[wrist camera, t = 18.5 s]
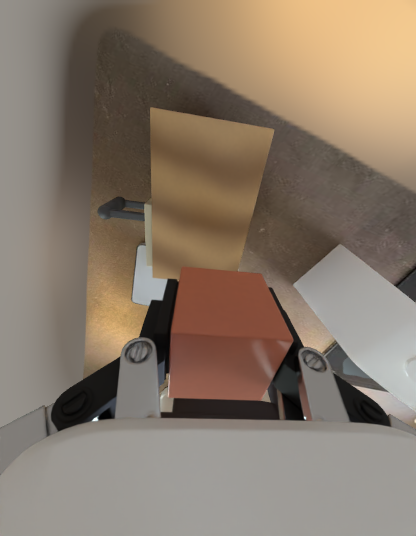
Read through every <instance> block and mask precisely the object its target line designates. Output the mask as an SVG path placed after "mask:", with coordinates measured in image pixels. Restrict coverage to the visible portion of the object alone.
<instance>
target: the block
mask: <svg viewBox="0 0 416 536" xmlns="http://www.w3.org/2000/svg"><path fill="white" fill-rule="evenodd" d="M292 343H293V337H292V335H291V333H290V331H289V329H288V327H287V325H286V323H285V321H284V319H283V317H282V315H281V313H280V311H279V309H278V307H277V305H276V303H275V301H274V299H273V297H272V295H271V293H270V290H269V288H268V286H267V284H266V282H265V280H264V278H263V276H262V274H258V273H248V272H237V271H227V270H216V269H206V268H195V267H185V266H182V267H181V273H180V279H179V285H178V291H177V297H176V303H175V309H174V315H173V321H172V327H171V335H170V357H169V379H168V397H169V398H193V399H226V400H259V401H260V400H262V398H263V396H264V394H265V392H266V390H267V389H268V387H269V385H270V383H271V381H272V379H273V378H274V376H275V374H276V372H277V370H278V368H279V367H280V365H281V363H282V361H283V359H284V357H285V356H286V354H287V352H288V350H289V348H290V346H291V345H292Z"/></svg>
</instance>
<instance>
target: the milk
mask: <svg viewBox="0 0 416 536" xmlns="http://www.w3.org/2000/svg"><path fill="white" fill-rule="evenodd" d="M293 286H294V287H295V288H296V289H297V291H298V292H299V293H300V295H301V296H302V297H303V298H304V300H305V301H306V302H307V304H308V305H309V306H310V307H311V309H312V310H313V311H314V313H315V314H316V315H317V316H318V318H319V319H320V320H321V322H322V323H323V324H324V325H325V327H326V328H327V329H328V331H329V332H330V333H331V334H332V336H333V337H334V338H335V340H336V341H337V342H338V343H339V345H340V346H341V347H342V349H343V350H344V351H345V352H346V354H347V355H348V356H349V358H350V359H351V360H352V361H353V362H354V363H355V364H356V365H357V366H358V367H359V368H360V369H361V370H362V371H364V372H365V373H366V374H367V375H368V376H370V377H371V378H372V379H373V380H375V381H376V382H377V383H379V384H380V385H381V386H382V387H384V388H385V389H386V390H387V391H389V392H390V393H391V394H392V395H394V396H395V397H396V398H398V399H399V400H400V401H401V402H403V403H404V404H405V405H406V406H408V407H411V409H412V410H413V411H415V412H416V303H415V302H414V301H413V300H411V299H410V298H409V297H408V296H406V295H405V294H404V293H402V292H401V291H400V290H399V289H397V288H396V287H395V286H394V285H392V284H391V283H390V282H388V281H387V280H386V279H385V278H383V277H382V276H381V275H380V274H378V273H377V272H376V271H374V270H373V269H372V268H371V267H369V266H368V265H367V264H366V263H364V262H363V261H362V260H360V259H359V258H358V257H357V256H355V255H354V254H353V253H352V252H350V251H349V250H348V249H346V248H345V247H344V246H343V245H341V244H339V245H338V246H337V247H336V248H335V249H333V250H332V251H331V252H330V253H329V254H328V255H326V256H325V257H324V258H323V259H322V260H321V261H320V262H318V263H317V264H316V265H315V266H314V267H313V268H311V269H310V270H309V271H308V272H307V273H306V274H305V275H303V276H302V277H301V278H300V279H299V280H298V281H296V282H295V283H294V284H293Z"/></svg>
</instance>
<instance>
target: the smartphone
mask: <svg viewBox="0 0 416 536" xmlns="http://www.w3.org/2000/svg"><path fill="white" fill-rule="evenodd" d="M167 280H168V279H158V278H153V271H152V267H149V266H146V243H140V244H139V245H138V247H137V252H136V261H135V270H134V280H133V289H132V298H131V300H132V302H134V303H136V304H141V305H146V306H149V305H150V302H151V300H152V299H153V300H162V299H163V295H164V291H165V287H166V283H167Z"/></svg>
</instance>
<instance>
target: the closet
mask: <svg viewBox="0 0 416 536" xmlns="http://www.w3.org/2000/svg"><path fill="white" fill-rule="evenodd" d="M150 128H151V200H152V271H153V278H158V279H168V278H169V279H177V280H179V279H180V273H181V267H182V266H185V267H195V268H206V269H216V270H227V271H237V272H238V269H239V266H240V262H241V258H242V254H243V250H244V246H245V242H246V238H247V234H248V231H249V227H250V223H251V219H252V215H253V211H254V207H255V203H256V199H257V196H258V192H259V188H260V184H261V180H262V176H263V172H264V168H265V164H266V161H267V157H268V153H269V149H270V145H271V141H272V137H273V133H274V129H271V128H265V127H260V126H254V125H248V124H243V123H237V122H231V121H226V120H220V119H214V118H209V117H203V116H197V115H192V114H186V113H181V112H175V111H169V110H164V109H158V108H152V107H150Z"/></svg>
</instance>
